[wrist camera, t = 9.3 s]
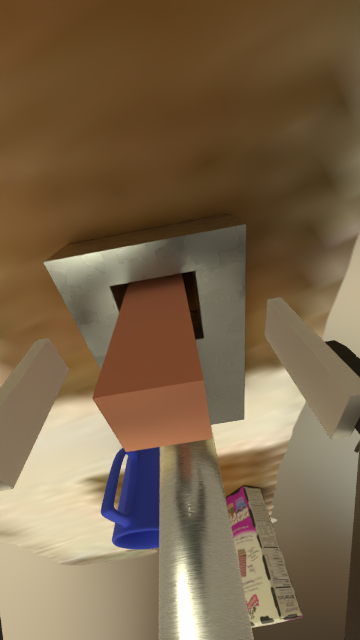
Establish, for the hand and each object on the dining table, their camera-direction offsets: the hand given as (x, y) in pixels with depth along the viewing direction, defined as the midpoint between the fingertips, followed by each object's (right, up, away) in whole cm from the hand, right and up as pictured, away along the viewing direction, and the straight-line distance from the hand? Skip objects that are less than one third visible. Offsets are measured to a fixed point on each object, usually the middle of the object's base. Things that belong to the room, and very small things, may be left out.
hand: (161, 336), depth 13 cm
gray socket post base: (0, 0, +8) cm, 8 cm away
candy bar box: (+14, -38, +34) cm, 53 cm away
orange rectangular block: (0, +4, +5) cm, 6 cm away
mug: (-4, -18, +20) cm, 27 cm away
